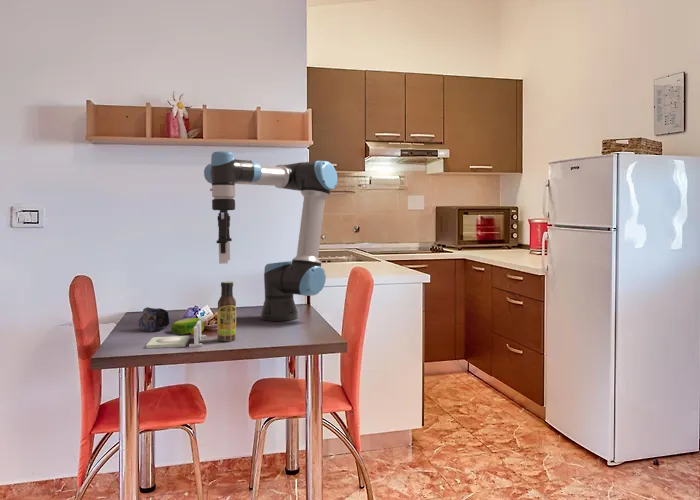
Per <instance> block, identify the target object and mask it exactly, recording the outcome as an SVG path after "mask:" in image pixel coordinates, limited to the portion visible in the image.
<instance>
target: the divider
mask: <svg viewBox="0 0 700 500" xmlns="http://www.w3.org/2000/svg"><path fill="white" fill-rule="evenodd" d="M201 321H202V320H201ZM201 321H198V322H197V324H196V325H195V327H194V334H193V340H194V341H193V342H194V343H189V345H188V346H189V348H198V347H199V348H200V347H203V343H200V341H201V340H202V339H206V338H207V335H206V334H202V331H201Z"/></svg>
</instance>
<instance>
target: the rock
mask: <svg viewBox="0 0 700 500" xmlns="http://www.w3.org/2000/svg"><path fill="white" fill-rule="evenodd" d="M142 312H143V313H142V314H141V316H140V318H139V319H138V321H137V322H138V323H137V326H138V327H139V329H140V330H142V331H144V332H151V333H152V332H155V331H161V330H162V329H163V328H164V327H167V326H169V325H170V317H169V312H168V311H167V310H166V309H165V308H157V307H155V308H153V307H148V306H146V307H144V308H143V309H142Z"/></svg>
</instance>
